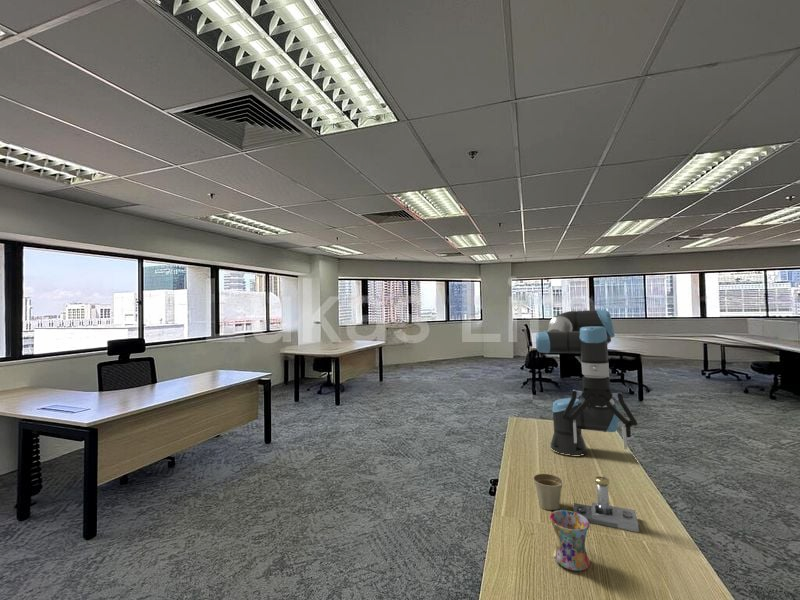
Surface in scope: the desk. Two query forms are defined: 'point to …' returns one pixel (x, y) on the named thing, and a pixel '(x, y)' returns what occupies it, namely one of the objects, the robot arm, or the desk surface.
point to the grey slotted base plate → (616, 519)
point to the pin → (603, 495)
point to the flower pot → (548, 490)
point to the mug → (570, 539)
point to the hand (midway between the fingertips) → (599, 444)
